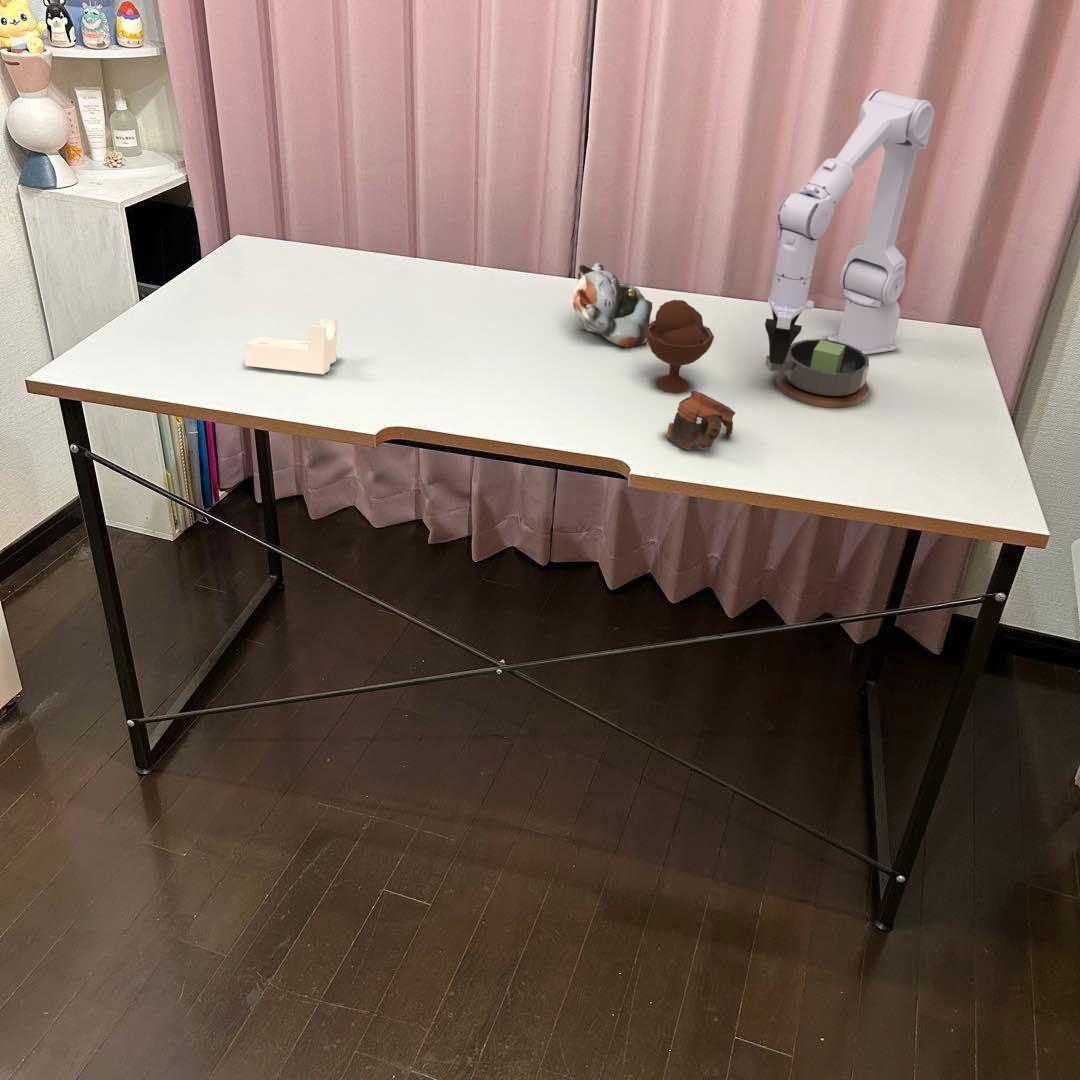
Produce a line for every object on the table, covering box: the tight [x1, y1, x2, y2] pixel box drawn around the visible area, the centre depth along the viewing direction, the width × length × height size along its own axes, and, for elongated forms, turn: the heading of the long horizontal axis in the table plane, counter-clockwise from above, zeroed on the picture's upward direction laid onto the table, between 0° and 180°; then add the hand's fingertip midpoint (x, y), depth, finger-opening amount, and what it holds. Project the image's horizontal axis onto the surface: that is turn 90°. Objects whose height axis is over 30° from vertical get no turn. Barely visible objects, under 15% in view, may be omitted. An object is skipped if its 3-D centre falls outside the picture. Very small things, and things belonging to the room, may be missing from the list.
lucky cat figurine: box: [571, 262, 653, 349], centre depth 200 cm, size 15×12×14 cm
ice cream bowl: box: [645, 299, 715, 394], centre depth 183 cm, size 11×11×15 cm
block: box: [810, 339, 845, 373], centre depth 187 cm, size 4×4×5 cm
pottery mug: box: [666, 390, 736, 452], centre depth 171 cm, size 12×10×8 cm
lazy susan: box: [776, 371, 869, 409], centre depth 190 cm, size 15×15×1 cm
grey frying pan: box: [764, 338, 870, 396], centre depth 188 cm, size 17×13×4 cm
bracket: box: [244, 318, 338, 375], centre depth 185 cm, size 13×7×8 cm, turn 82°
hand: (778, 353), depth 184 cm, fingers open, 7 cm apart
